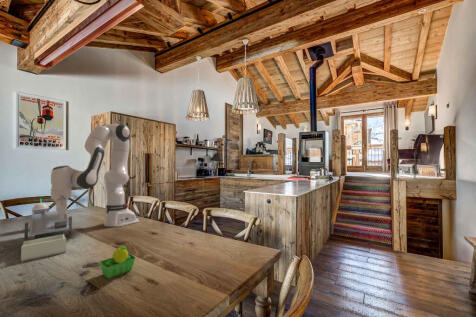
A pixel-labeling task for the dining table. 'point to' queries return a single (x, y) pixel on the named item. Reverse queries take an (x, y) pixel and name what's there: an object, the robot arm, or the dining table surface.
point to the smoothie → (41, 206)
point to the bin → (43, 247)
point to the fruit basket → (117, 263)
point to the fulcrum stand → (48, 233)
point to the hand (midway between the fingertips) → (61, 219)
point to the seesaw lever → (46, 222)
